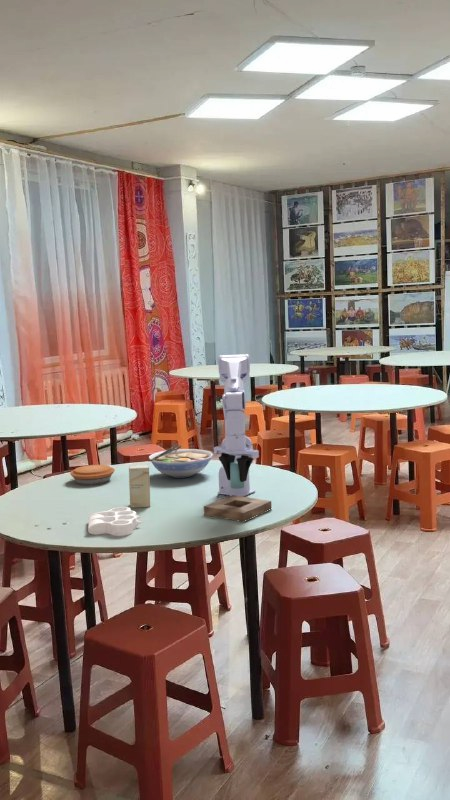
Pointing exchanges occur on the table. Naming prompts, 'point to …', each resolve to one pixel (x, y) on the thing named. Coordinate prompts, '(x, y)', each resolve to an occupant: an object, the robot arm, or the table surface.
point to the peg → (235, 476)
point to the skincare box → (139, 486)
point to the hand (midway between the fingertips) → (236, 480)
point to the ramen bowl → (180, 461)
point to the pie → (92, 474)
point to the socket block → (237, 507)
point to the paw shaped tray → (114, 522)
